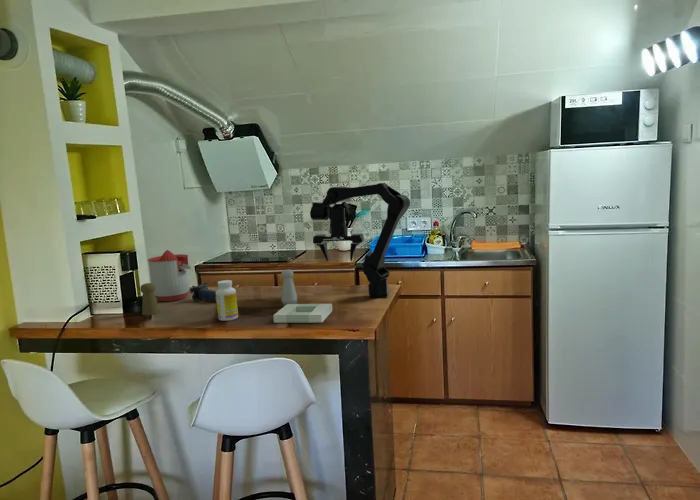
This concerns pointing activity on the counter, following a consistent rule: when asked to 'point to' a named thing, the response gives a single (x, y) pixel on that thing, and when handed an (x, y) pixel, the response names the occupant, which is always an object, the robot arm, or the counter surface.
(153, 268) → the citrus juicer
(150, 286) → the cork
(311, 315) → the square frame holder
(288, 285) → the grey pestle
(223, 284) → the supplement bottle
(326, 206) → the robot arm
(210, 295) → the dark blue irregular lump
